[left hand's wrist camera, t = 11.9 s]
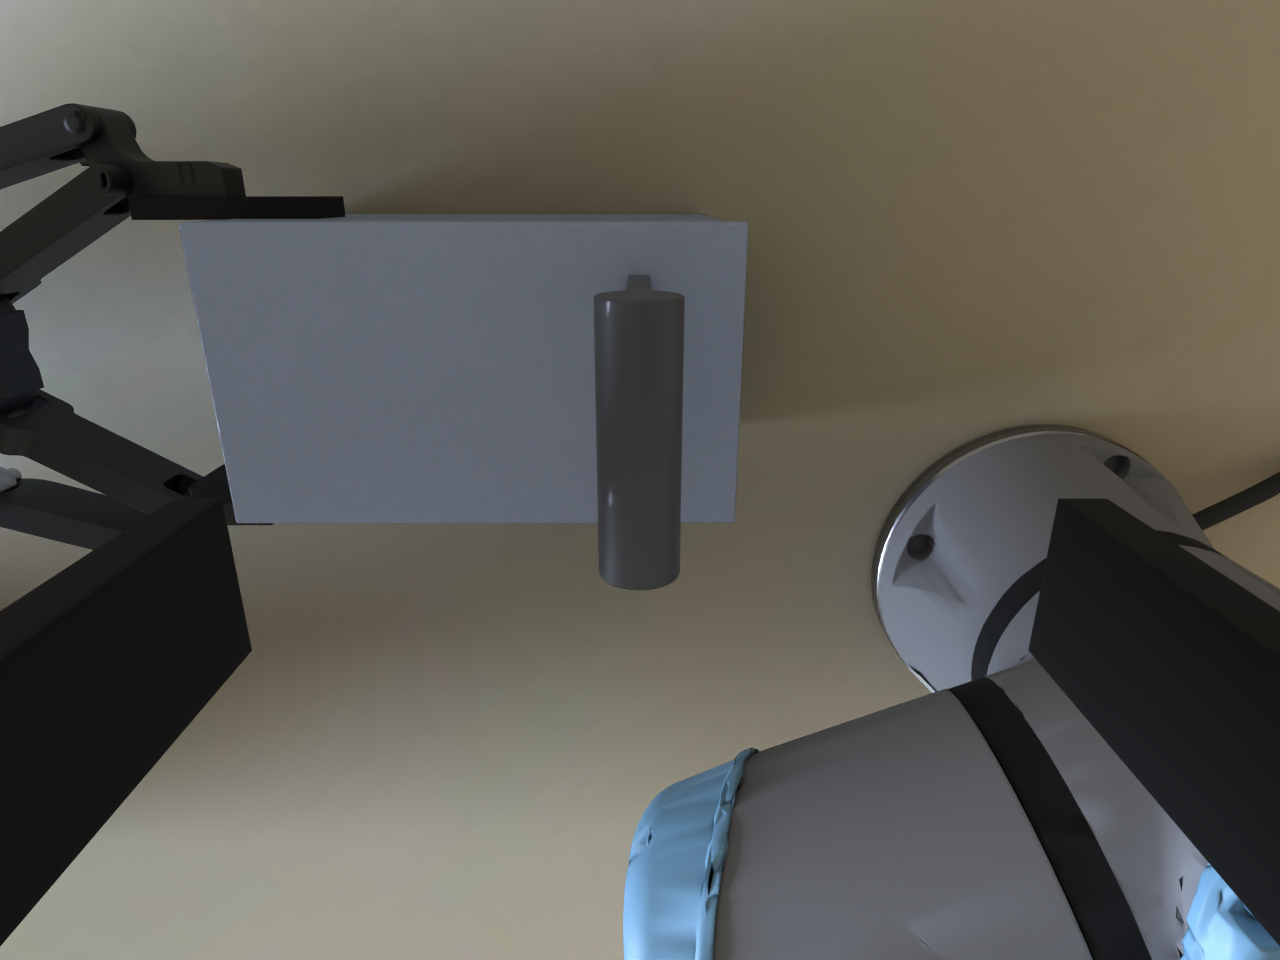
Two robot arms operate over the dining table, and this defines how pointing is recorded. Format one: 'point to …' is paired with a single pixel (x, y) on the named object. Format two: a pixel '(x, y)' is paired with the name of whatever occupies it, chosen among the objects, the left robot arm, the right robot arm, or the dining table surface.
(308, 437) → the lid
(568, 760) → the dining table surface
